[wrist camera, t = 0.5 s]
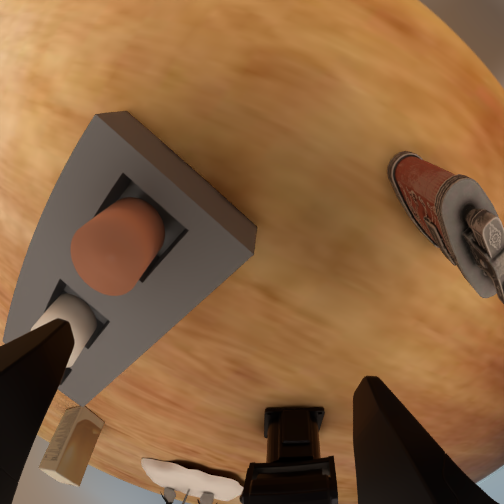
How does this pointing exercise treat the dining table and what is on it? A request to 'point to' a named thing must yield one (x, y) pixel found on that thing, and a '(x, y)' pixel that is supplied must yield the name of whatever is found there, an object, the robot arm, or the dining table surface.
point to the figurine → (190, 482)
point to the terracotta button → (118, 246)
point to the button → (72, 320)
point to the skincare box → (72, 446)
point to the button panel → (159, 270)
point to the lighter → (453, 219)
